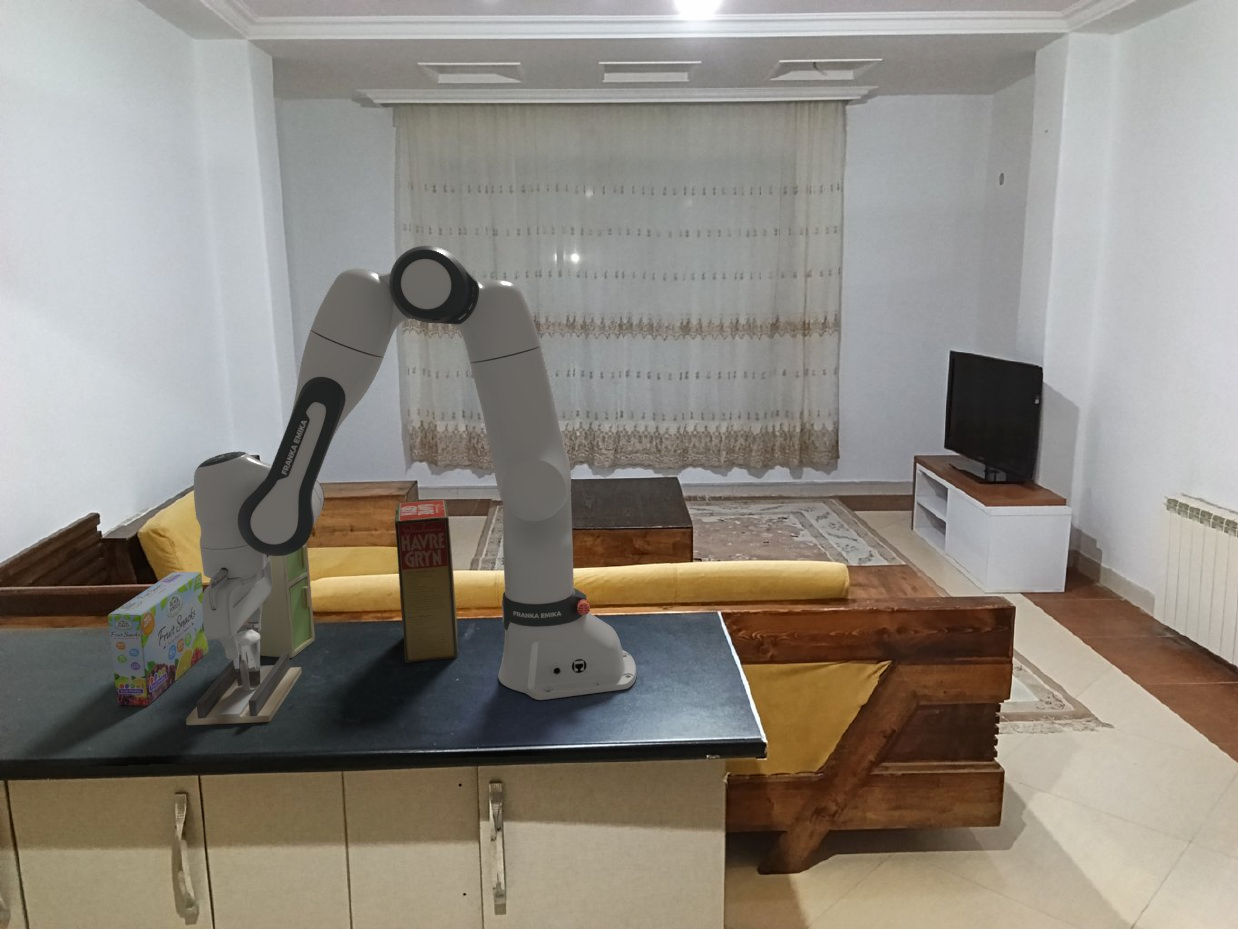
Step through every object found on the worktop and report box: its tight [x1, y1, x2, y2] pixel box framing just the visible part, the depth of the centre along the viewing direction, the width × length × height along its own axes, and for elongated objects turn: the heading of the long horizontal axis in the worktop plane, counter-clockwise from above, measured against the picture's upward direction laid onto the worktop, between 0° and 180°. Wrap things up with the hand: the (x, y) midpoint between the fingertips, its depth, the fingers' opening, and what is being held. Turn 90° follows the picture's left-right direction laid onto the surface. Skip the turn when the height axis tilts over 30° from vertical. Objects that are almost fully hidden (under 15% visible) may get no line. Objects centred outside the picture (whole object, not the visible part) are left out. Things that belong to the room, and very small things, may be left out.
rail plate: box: [185, 653, 302, 726], centre depth 143 cm, size 12×17×4 cm
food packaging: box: [394, 499, 459, 663], centre depth 160 cm, size 13×9×25 cm
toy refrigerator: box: [259, 541, 316, 659], centre depth 160 cm, size 8×7×21 cm
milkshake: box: [232, 630, 261, 691], centre depth 143 cm, size 4×5×10 cm
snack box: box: [107, 571, 209, 707], centre depth 150 cm, size 21×6×15 cm, turn 0°
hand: (244, 644), depth 142 cm, fingers open, 8 cm apart
